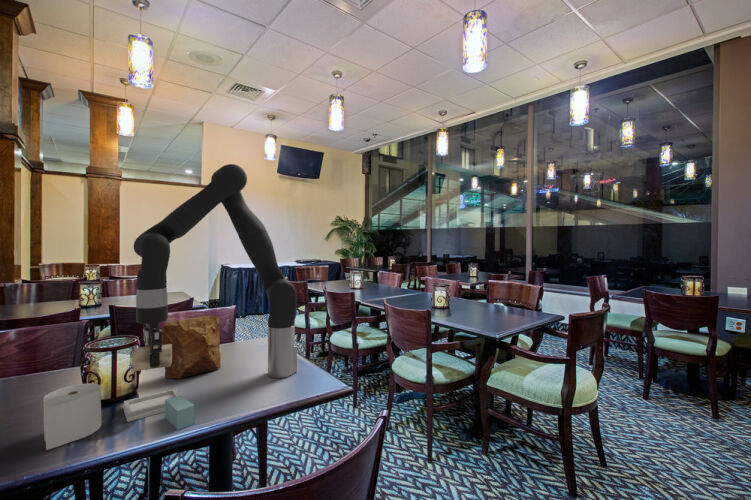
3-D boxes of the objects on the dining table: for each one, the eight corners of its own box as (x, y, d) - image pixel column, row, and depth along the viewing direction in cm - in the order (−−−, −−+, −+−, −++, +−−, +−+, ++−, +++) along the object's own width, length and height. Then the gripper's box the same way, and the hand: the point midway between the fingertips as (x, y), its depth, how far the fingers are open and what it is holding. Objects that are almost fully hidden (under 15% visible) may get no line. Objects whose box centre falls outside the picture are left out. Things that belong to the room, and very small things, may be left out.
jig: (175, 394, 107) (175, 388, 106) (183, 406, 99) (183, 399, 99) (123, 407, 98) (123, 400, 98) (127, 421, 90) (127, 414, 90)
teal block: (181, 412, 96) (181, 394, 96) (194, 424, 90) (194, 405, 90) (165, 418, 93) (165, 399, 93) (177, 430, 87) (177, 410, 87)
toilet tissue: (100, 416, 93) (99, 379, 93) (103, 435, 84) (102, 395, 84) (45, 430, 86) (44, 391, 86) (42, 453, 77) (41, 408, 77)
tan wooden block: (171, 360, 102) (171, 343, 102) (170, 366, 98) (170, 348, 98) (135, 365, 98) (135, 348, 98) (132, 371, 94) (131, 353, 94)
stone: (219, 364, 133) (218, 312, 132) (223, 373, 124) (223, 317, 123) (162, 373, 123) (161, 317, 122) (162, 384, 114) (161, 323, 113)
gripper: (172, 306, 95) (173, 368, 95) (162, 299, 106) (163, 354, 106) (139, 310, 90) (140, 374, 90) (132, 302, 101) (133, 360, 101)
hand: (152, 363), depth 98 cm, fingers closed on tan wooden block, 5 cm apart
